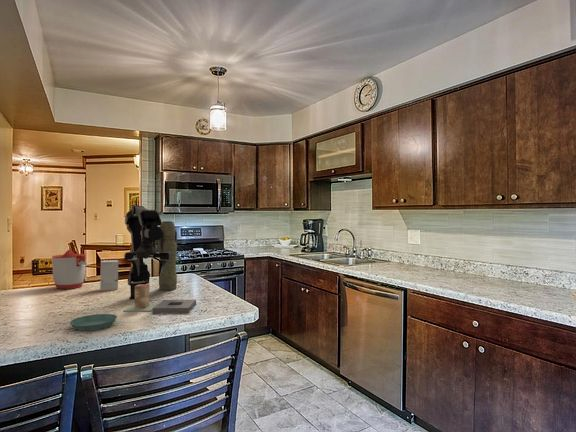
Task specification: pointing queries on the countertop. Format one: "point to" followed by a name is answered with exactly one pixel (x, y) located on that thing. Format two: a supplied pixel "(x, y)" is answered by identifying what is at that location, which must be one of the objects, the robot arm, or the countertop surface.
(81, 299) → the countertop surface
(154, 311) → the grey flat square slab
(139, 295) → the wooden plug
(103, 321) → the saucer
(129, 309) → the rubber mat
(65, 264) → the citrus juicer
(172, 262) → the thermos
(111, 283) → the skincare box
